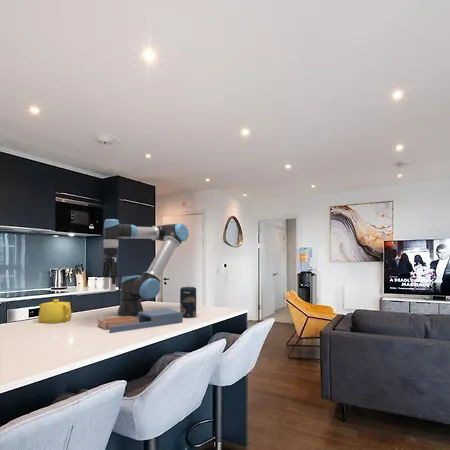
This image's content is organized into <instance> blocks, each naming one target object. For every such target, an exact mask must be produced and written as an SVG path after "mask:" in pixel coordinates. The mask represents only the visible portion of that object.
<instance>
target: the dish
mask: <svg viewBox="0 0 450 450" xmlns="http://www.w3.org/2000/svg"><path fill="white" fill-rule="evenodd" d="M135 323H138V317H133V316H115V317H108V318H107V317H106V318H100V319H97V327H98V328H101V329H102V330H106V331H110V327H112V326H120V325H127V324H135Z"/></svg>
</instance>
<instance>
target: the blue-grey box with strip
mask: <svg viewBox="0 0 450 450" xmlns="http://www.w3.org/2000/svg"><path fill="white" fill-rule="evenodd" d="M183 318H184V317H183V312H180V310H179V311H178V310H173V309H170V308H169V309H168V308H163V309H155V310H153V309H152V310H145V311H144V310H143V312H138V315H137V323H135V324H127V325H120V326H112V327H110V330H108V332H109V333H110V334H113V333H119V332H125V331H134V330H139V329H146V328H154V327H159V326H167V325H175V324H180V323H183V322H184V321H183Z"/></svg>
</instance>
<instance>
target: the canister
mask: <svg viewBox="0 0 450 450" xmlns="http://www.w3.org/2000/svg"><path fill="white" fill-rule="evenodd" d="M179 294H180V295H179V312H183V318H191V317H195V316H197V288H196V286H195V287H194V286H189V285H187V286H183V287H180V289H179Z"/></svg>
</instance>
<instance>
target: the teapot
mask: <svg viewBox="0 0 450 450" xmlns="http://www.w3.org/2000/svg"><path fill="white" fill-rule="evenodd" d="M38 307H39V311H38V322H39V323H40V324H41V323H42V324H55V325H56V324H62V323H65V322H69V321H71V319H72V309H71V302H70V301H68V302H67V301H60V299H59V298H54V299H52V301H49V302H44V303H40V304H38Z"/></svg>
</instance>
